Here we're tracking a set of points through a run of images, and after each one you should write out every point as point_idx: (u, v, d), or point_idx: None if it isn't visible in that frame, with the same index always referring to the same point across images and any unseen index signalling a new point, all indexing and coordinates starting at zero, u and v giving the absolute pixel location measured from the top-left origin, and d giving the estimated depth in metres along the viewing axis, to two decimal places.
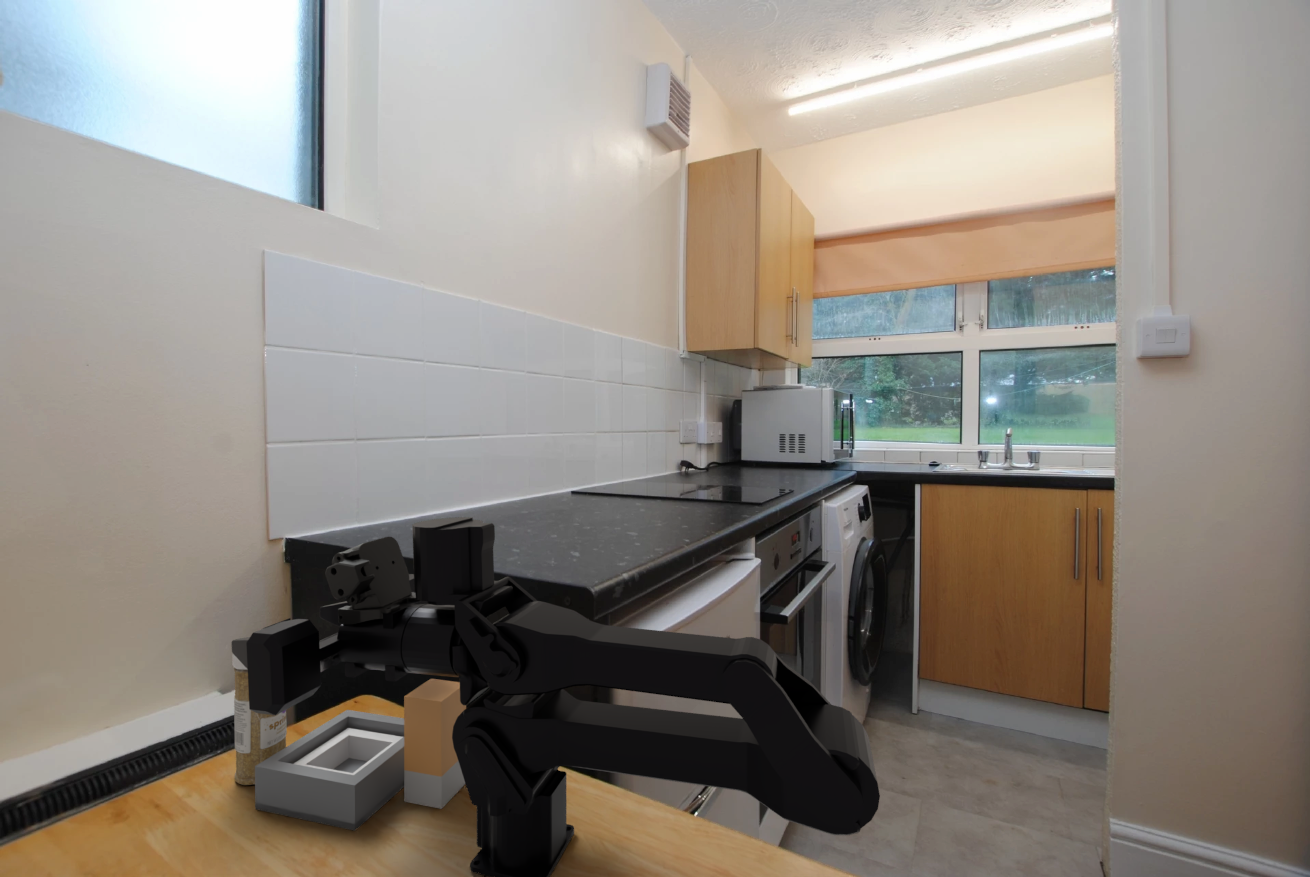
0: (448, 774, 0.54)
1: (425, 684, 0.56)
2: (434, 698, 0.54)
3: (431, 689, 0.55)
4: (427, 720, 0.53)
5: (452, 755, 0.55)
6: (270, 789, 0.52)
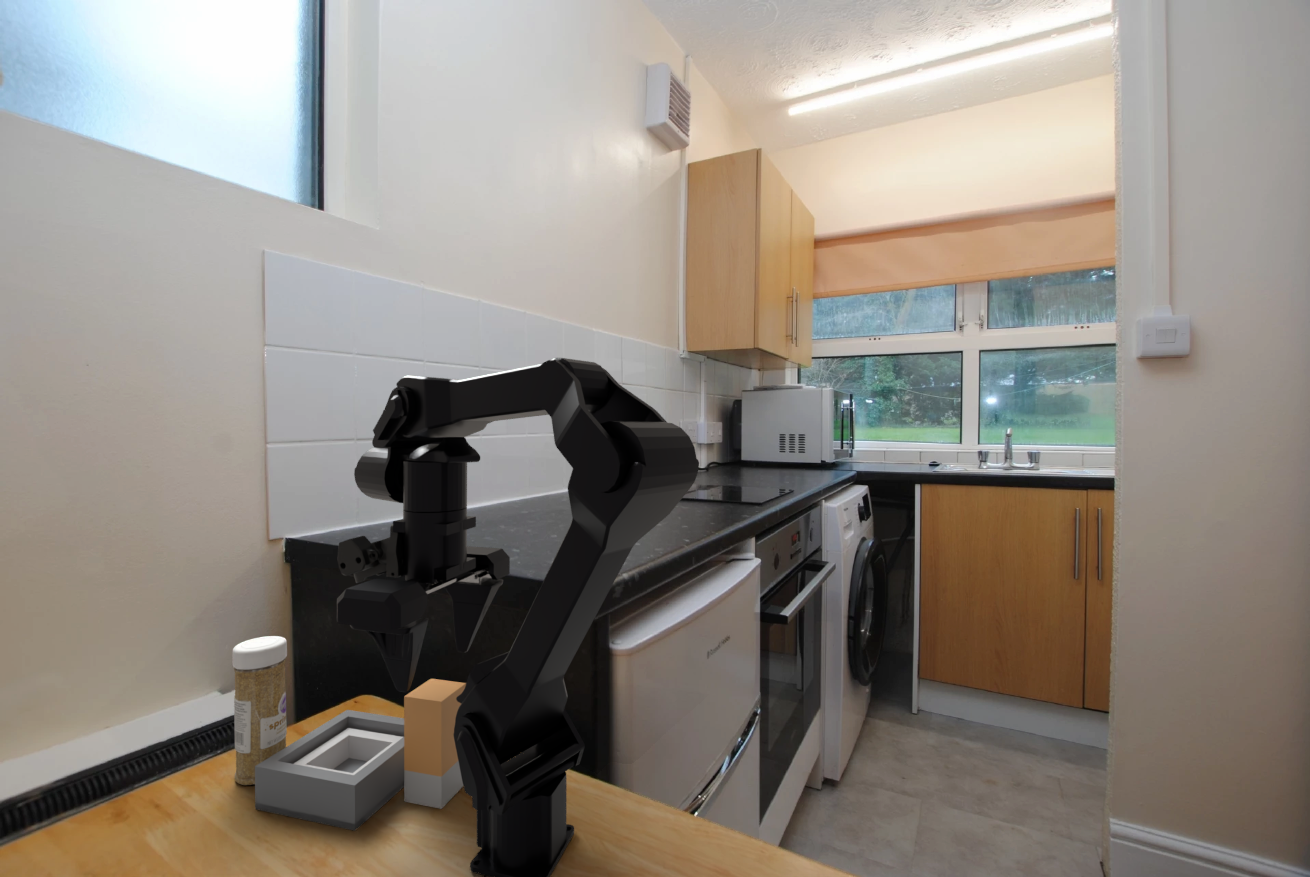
0: (448, 774, 0.54)
1: (425, 684, 0.56)
2: (434, 698, 0.54)
3: (431, 689, 0.55)
4: (427, 720, 0.53)
5: (452, 755, 0.55)
6: (270, 789, 0.52)
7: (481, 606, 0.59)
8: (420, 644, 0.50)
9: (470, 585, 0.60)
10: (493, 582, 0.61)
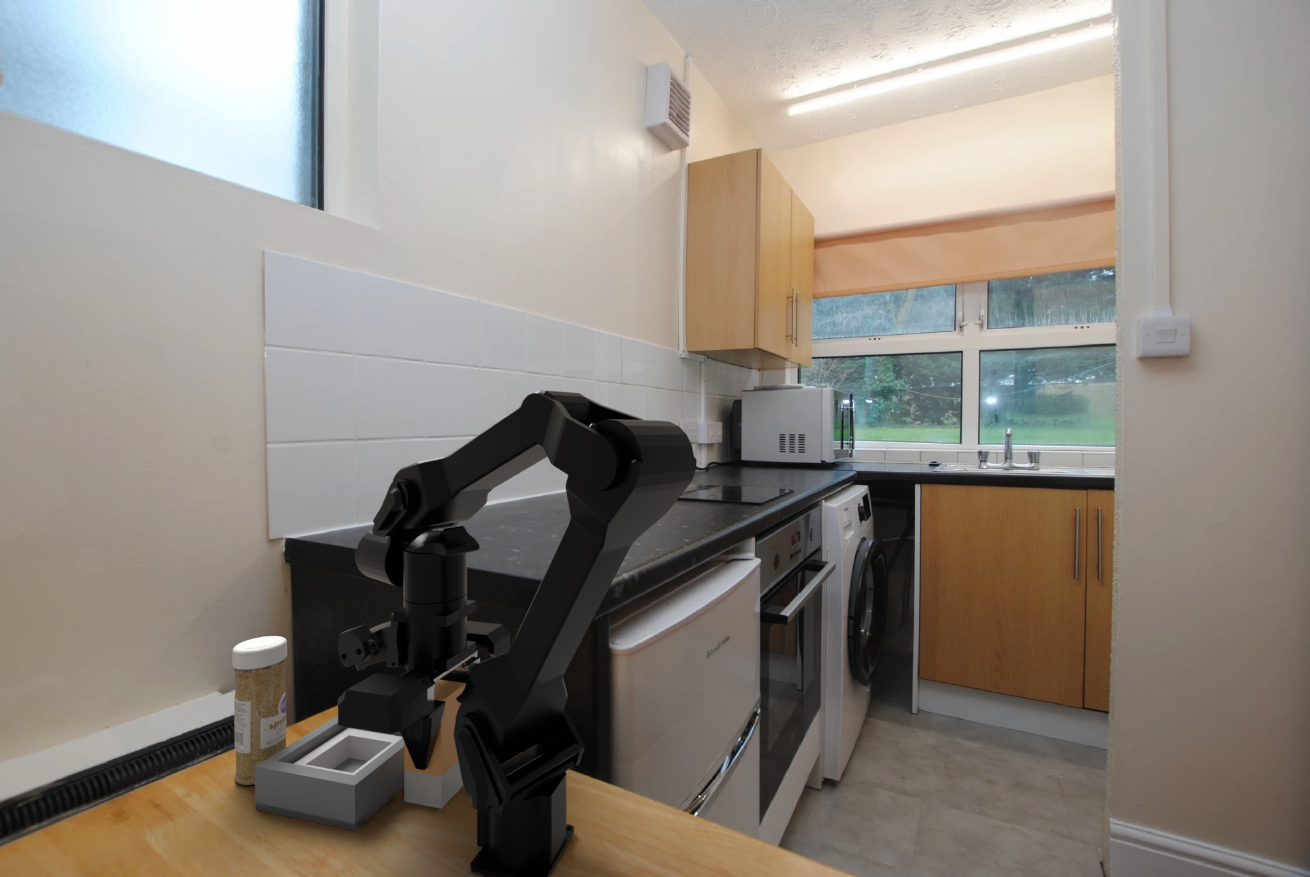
0: (448, 774, 0.54)
1: None
2: (434, 698, 0.54)
3: None
4: None
5: (452, 755, 0.55)
6: (270, 789, 0.52)
7: None
8: (438, 725, 0.52)
9: (457, 674, 0.58)
10: None
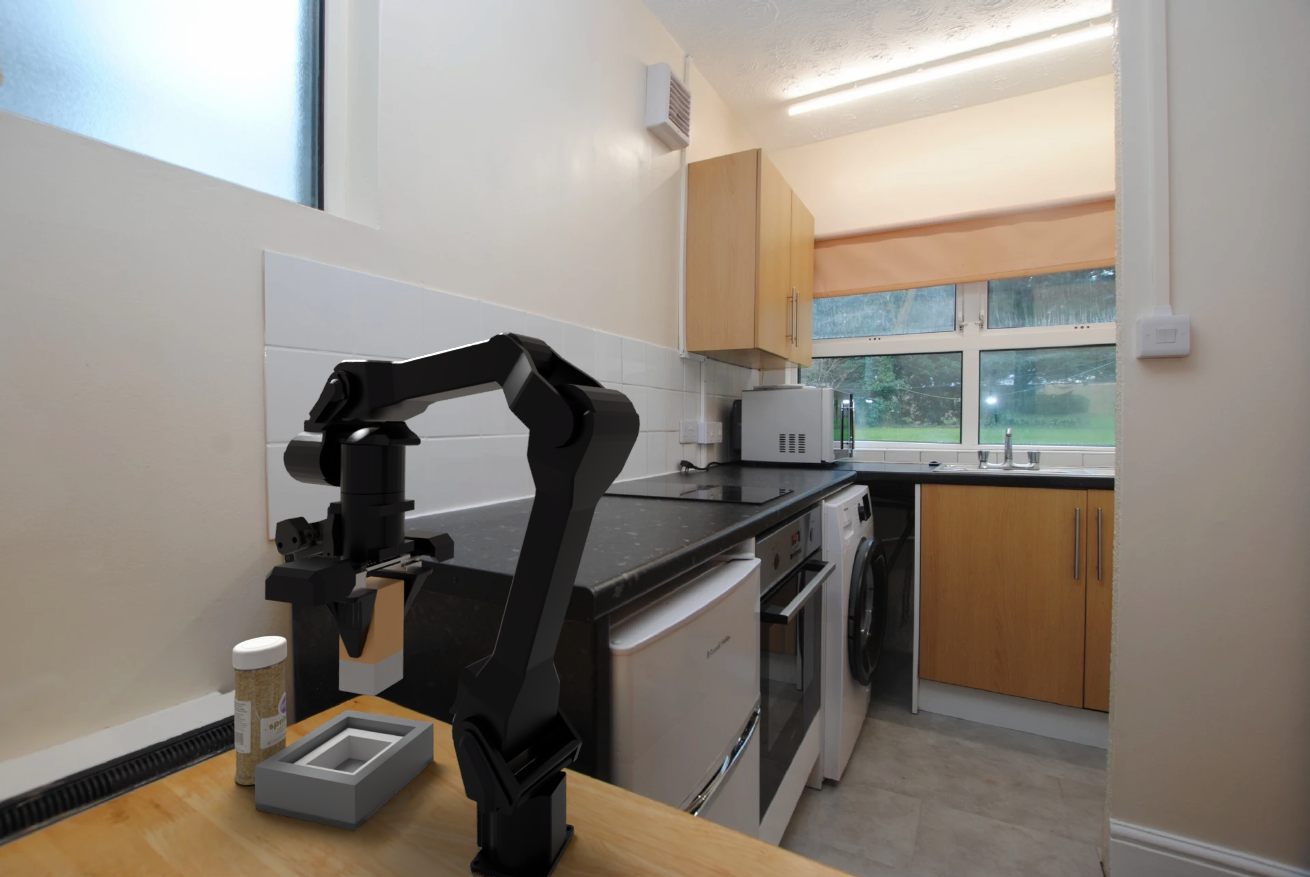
0: (382, 664, 0.55)
1: None
2: None
3: (368, 583, 0.56)
4: None
5: (387, 647, 0.56)
6: (270, 789, 0.52)
7: (406, 595, 0.58)
8: (370, 613, 0.53)
9: (396, 573, 0.59)
10: (421, 571, 0.60)
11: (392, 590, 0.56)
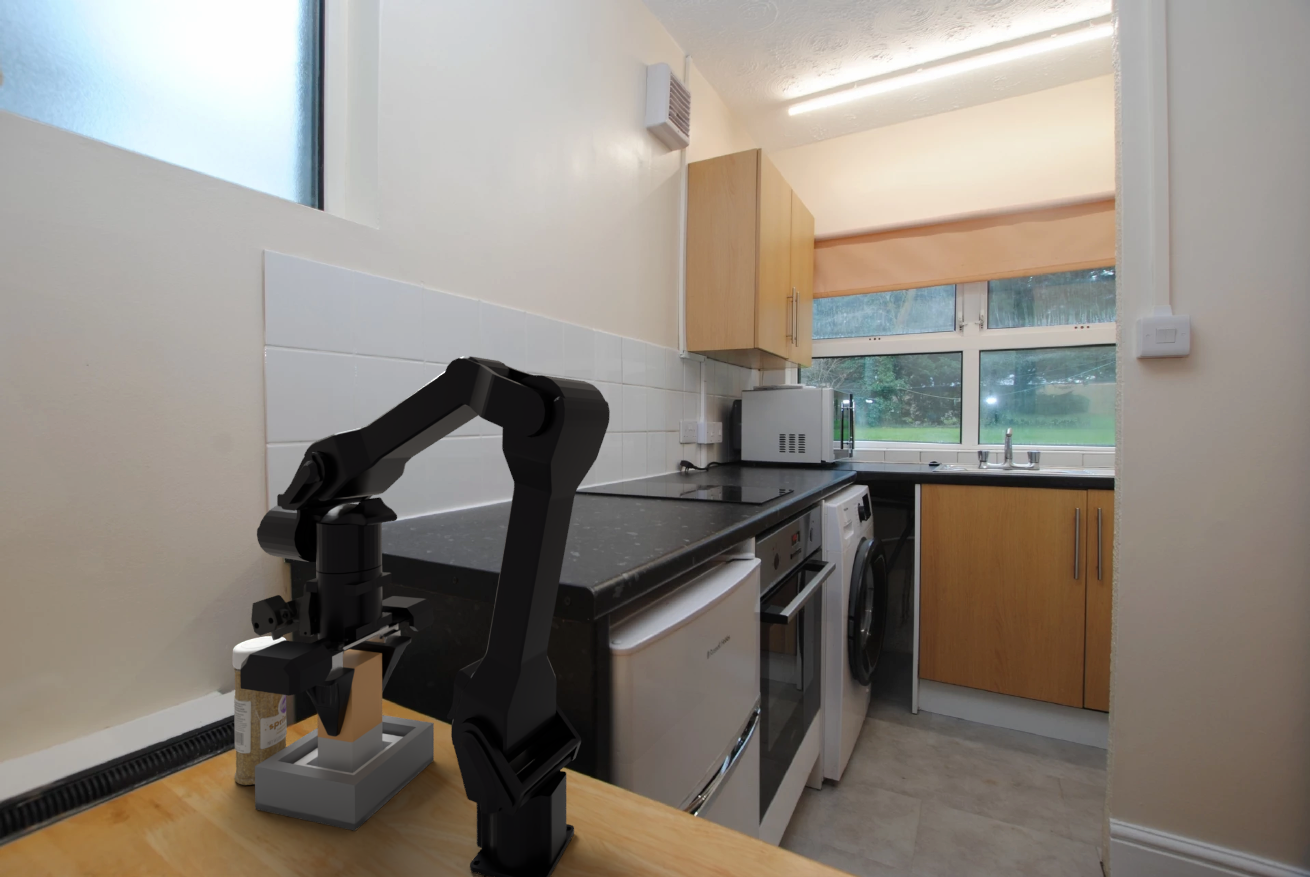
0: (360, 740, 0.55)
1: None
2: (346, 666, 0.55)
3: (345, 658, 0.57)
4: None
5: (365, 722, 0.56)
6: (270, 789, 0.52)
7: (385, 667, 0.58)
8: (347, 692, 0.53)
9: (375, 645, 0.59)
10: (399, 641, 0.60)
11: (370, 665, 0.56)
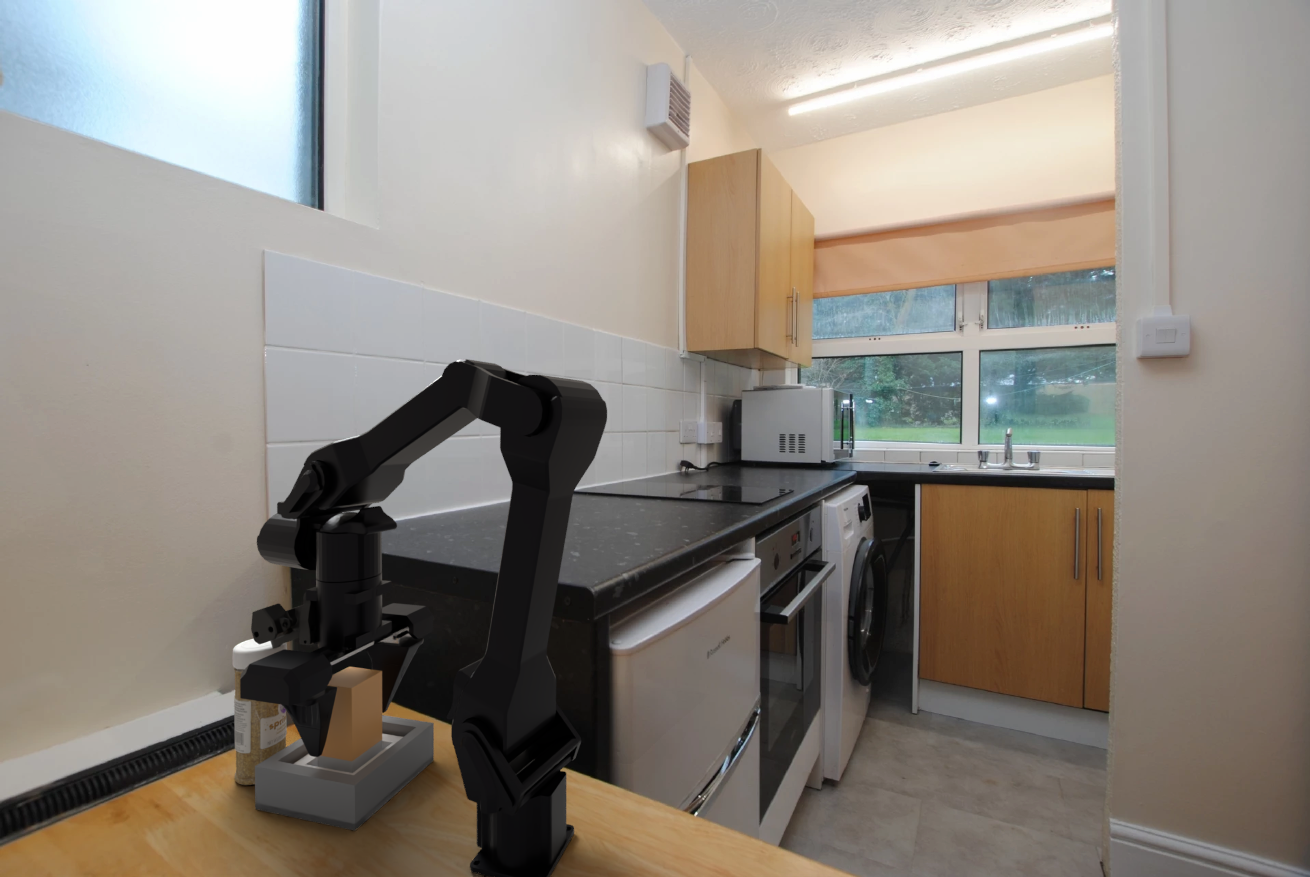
0: (360, 759, 0.55)
1: (341, 672, 0.58)
2: (346, 684, 0.55)
3: (345, 676, 0.57)
4: (338, 706, 0.55)
5: (365, 741, 0.56)
6: (270, 789, 0.52)
7: (399, 667, 0.60)
8: (329, 711, 0.51)
9: (388, 646, 0.61)
10: (412, 642, 0.62)
11: (370, 683, 0.56)
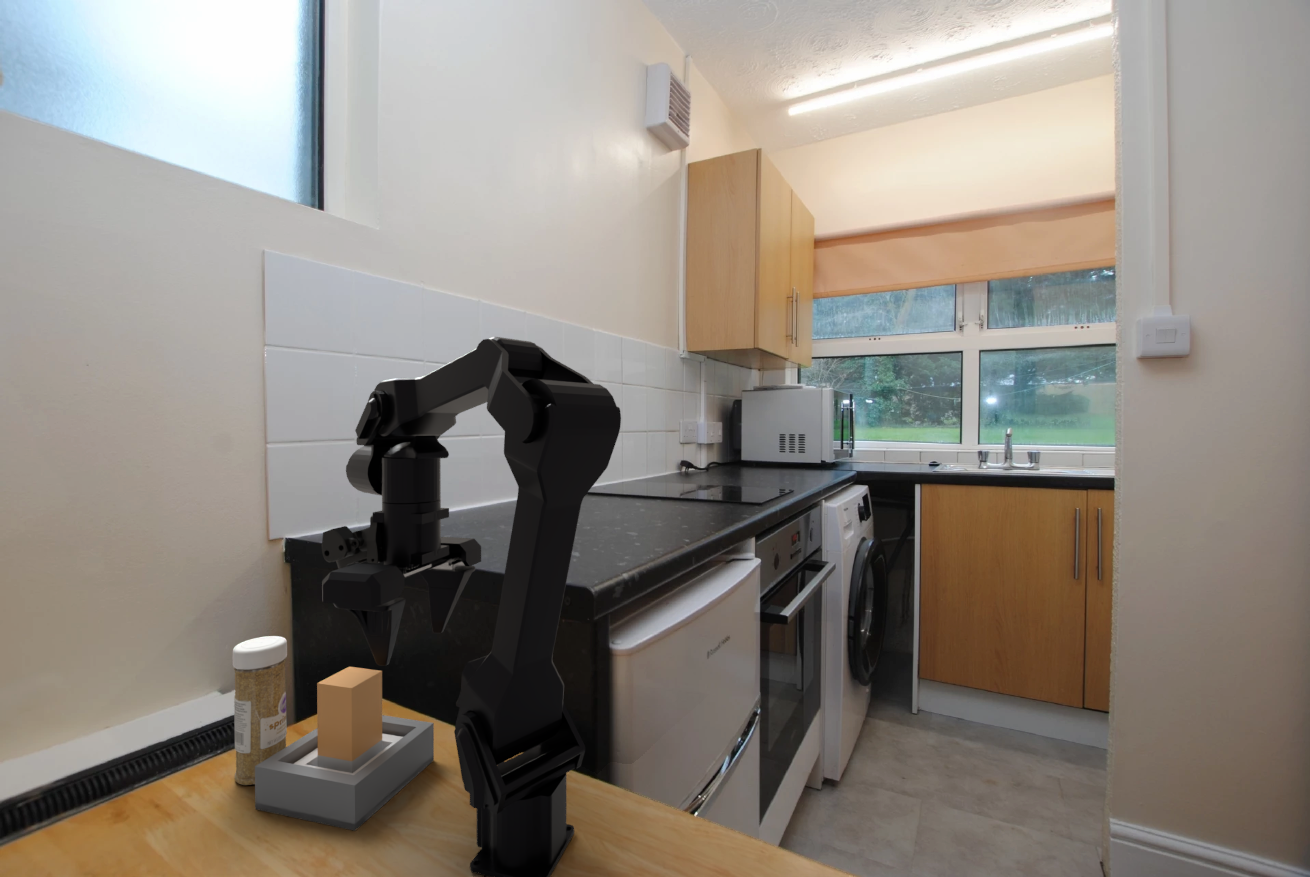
0: (360, 759, 0.55)
1: (341, 672, 0.58)
2: (346, 684, 0.55)
3: (345, 676, 0.57)
4: (338, 706, 0.55)
5: (365, 741, 0.56)
6: (270, 789, 0.52)
7: (455, 590, 0.65)
8: (398, 621, 0.55)
9: (444, 571, 0.66)
10: (466, 569, 0.66)
11: (370, 683, 0.56)
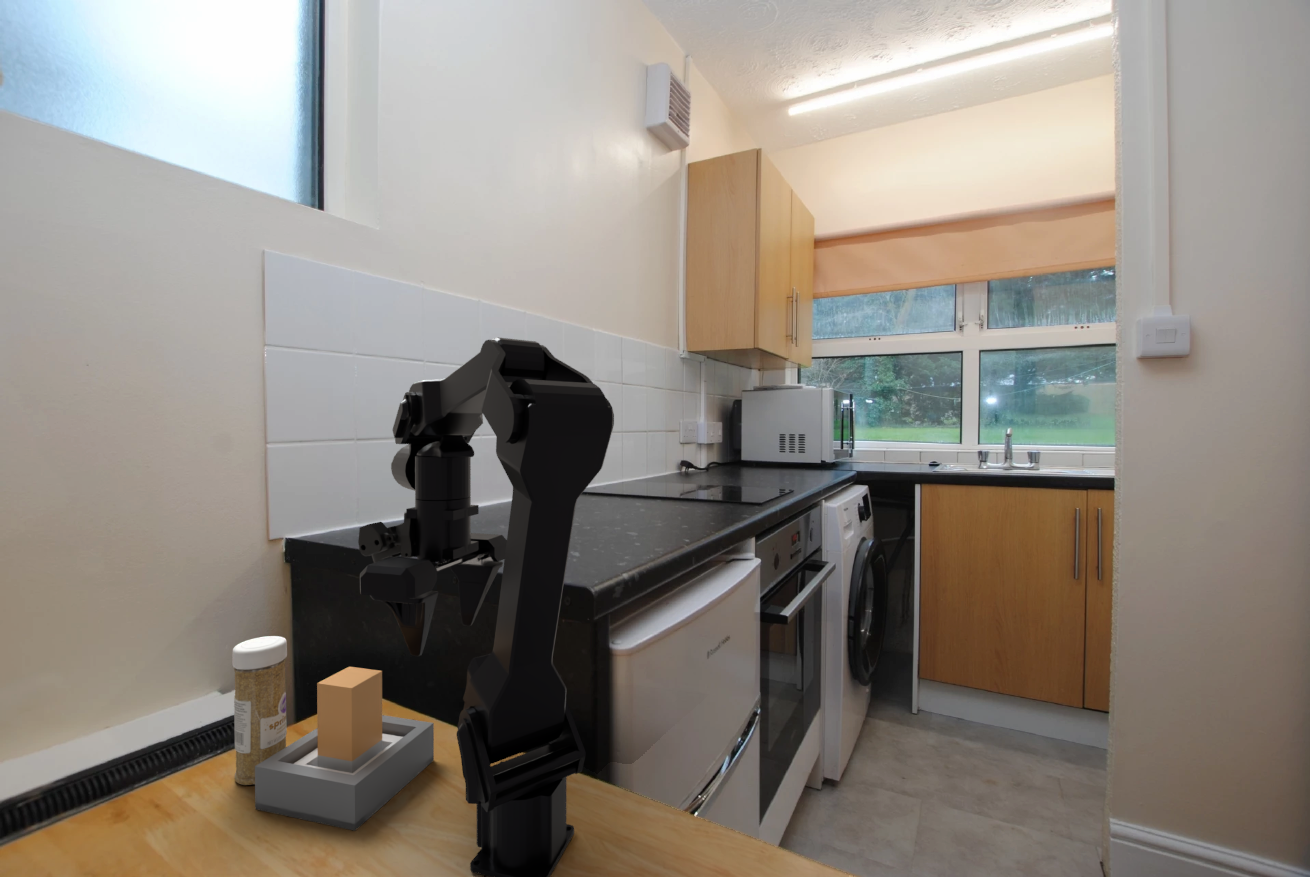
0: (360, 759, 0.55)
1: (341, 672, 0.58)
2: (346, 684, 0.55)
3: (345, 676, 0.57)
4: (338, 706, 0.55)
5: (365, 741, 0.56)
6: (270, 789, 0.52)
7: (483, 585, 0.67)
8: (431, 613, 0.57)
9: (474, 566, 0.68)
10: (494, 564, 0.69)
11: (370, 683, 0.56)
